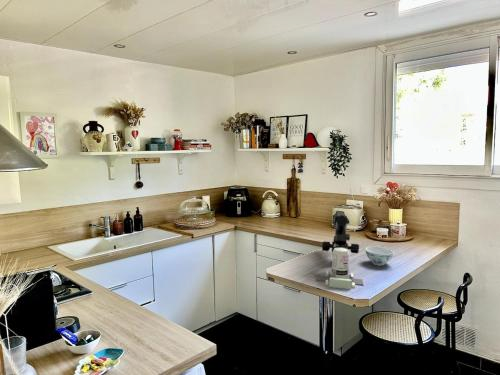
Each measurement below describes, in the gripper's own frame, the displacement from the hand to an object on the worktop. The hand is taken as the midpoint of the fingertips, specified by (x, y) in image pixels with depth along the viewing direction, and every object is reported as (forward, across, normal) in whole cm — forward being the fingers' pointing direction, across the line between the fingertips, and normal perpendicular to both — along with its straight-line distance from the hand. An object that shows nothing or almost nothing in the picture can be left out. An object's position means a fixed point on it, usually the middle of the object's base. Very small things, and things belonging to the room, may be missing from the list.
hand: (340, 261), depth 191 cm
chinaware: (-12, +22, +21) cm, 33 cm away
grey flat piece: (+11, 0, -2) cm, 11 cm away
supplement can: (+9, 0, +1) cm, 9 cm away
